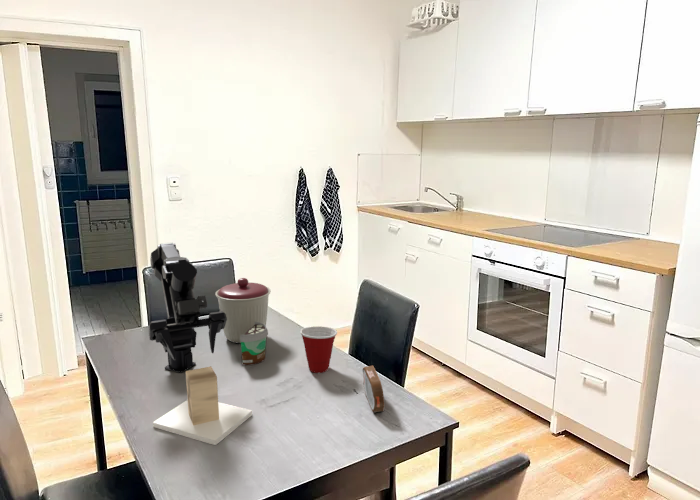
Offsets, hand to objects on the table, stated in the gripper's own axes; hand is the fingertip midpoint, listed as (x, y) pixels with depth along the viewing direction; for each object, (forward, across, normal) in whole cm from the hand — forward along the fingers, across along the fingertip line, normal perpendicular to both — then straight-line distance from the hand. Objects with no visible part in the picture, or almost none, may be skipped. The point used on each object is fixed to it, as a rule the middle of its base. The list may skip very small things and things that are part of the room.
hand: (194, 355), depth 126 cm
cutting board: (+15, 0, +4) cm, 16 cm away
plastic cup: (+5, +36, +14) cm, 39 cm away
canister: (-18, +24, +37) cm, 48 cm away
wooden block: (+14, 0, +3) cm, 15 cm away
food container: (-5, +22, +24) cm, 33 cm away
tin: (+23, +40, -3) cm, 47 cm away
